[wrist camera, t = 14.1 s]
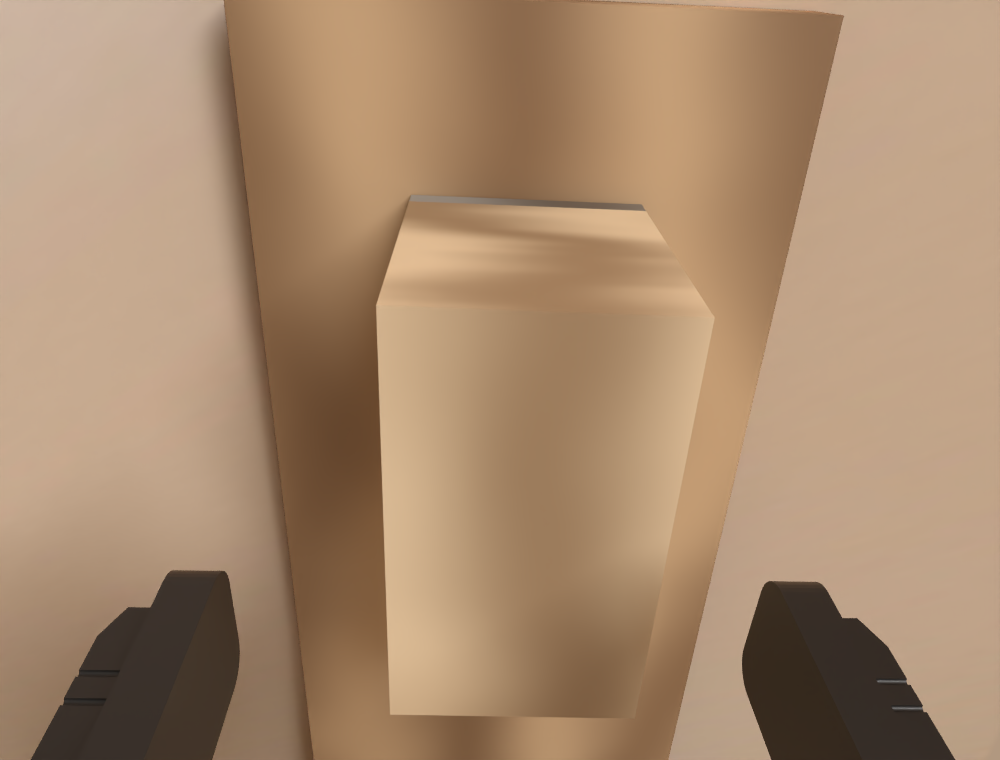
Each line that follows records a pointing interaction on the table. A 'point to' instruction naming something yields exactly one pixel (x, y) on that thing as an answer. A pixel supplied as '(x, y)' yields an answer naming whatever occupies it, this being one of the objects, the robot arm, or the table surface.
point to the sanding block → (530, 451)
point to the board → (506, 175)
